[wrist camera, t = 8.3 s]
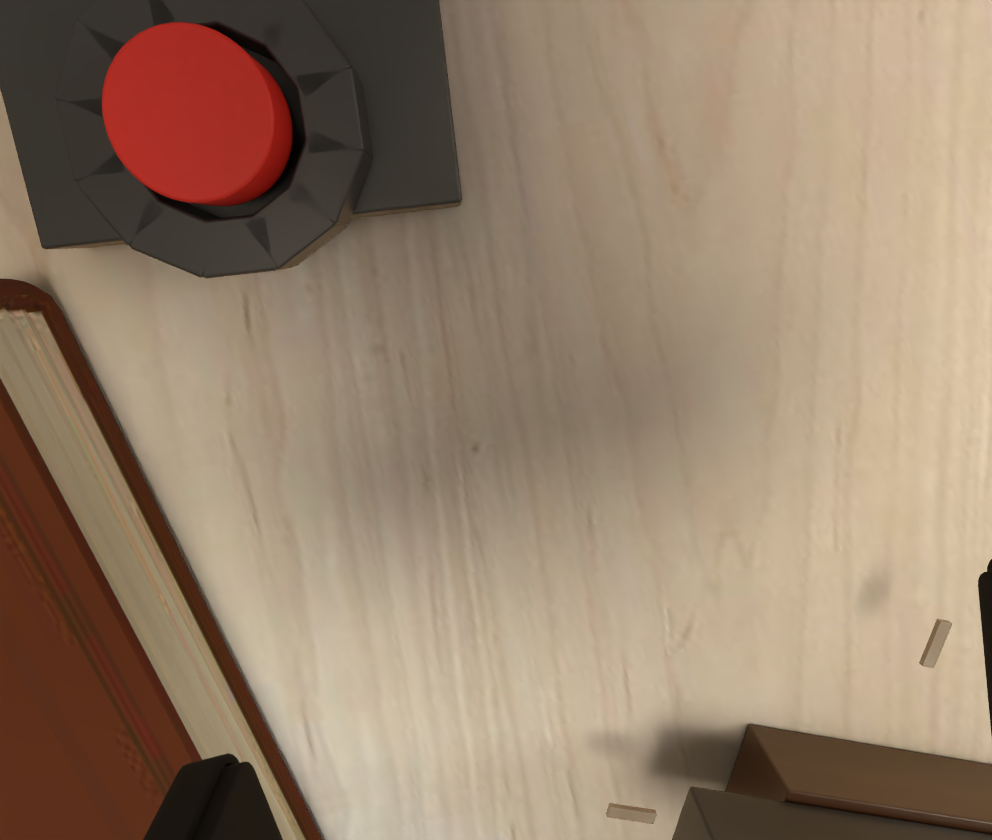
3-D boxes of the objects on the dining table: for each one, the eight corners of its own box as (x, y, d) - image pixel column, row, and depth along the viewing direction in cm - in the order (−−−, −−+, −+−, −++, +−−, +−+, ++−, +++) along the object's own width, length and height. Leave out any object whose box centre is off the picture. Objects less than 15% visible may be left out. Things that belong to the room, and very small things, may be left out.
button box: (2, -96, 17) (-130, -193, 13) (421, -139, 17) (411, -245, 14) (96, 288, 19) (7, 301, 16) (466, 246, 20) (469, 248, 16)
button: (123, 53, 15) (80, 30, 13) (279, 36, 15) (256, 12, 13) (158, 214, 16) (122, 211, 14) (306, 197, 16) (287, 192, 14)
